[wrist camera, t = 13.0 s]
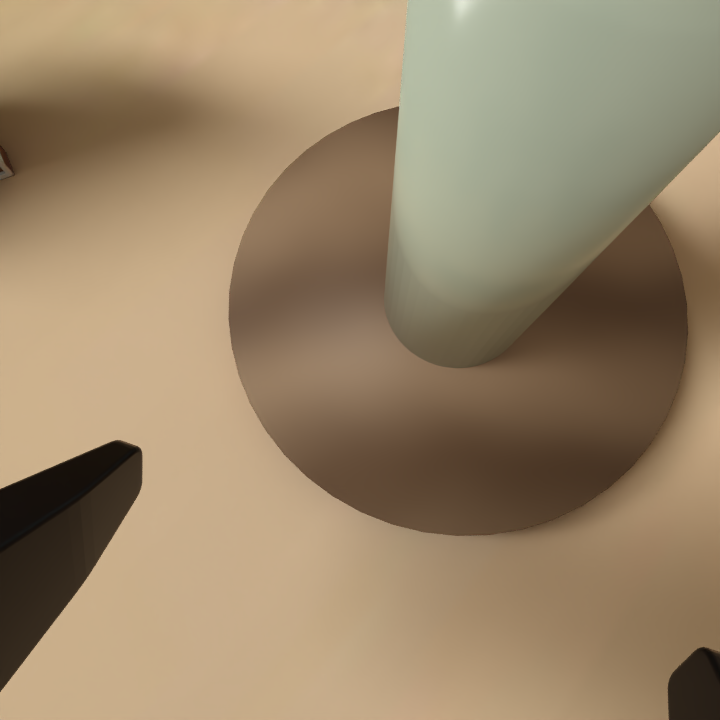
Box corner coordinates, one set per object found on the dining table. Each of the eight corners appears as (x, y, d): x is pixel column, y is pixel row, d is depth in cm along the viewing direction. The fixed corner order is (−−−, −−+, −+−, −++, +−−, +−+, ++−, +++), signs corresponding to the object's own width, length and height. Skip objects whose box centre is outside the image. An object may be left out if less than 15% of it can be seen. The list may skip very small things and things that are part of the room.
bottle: (556, 312, 19) (1032, -138, 5) (443, 397, 18) (657, 128, 5) (465, 208, 20) (674, -396, 6) (355, 285, 19) (324, -203, 6)
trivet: (716, 509, 19) (739, 510, 17) (246, 554, 18) (238, 559, 17) (619, 104, 22) (633, 83, 21) (228, 140, 22) (221, 120, 21)
